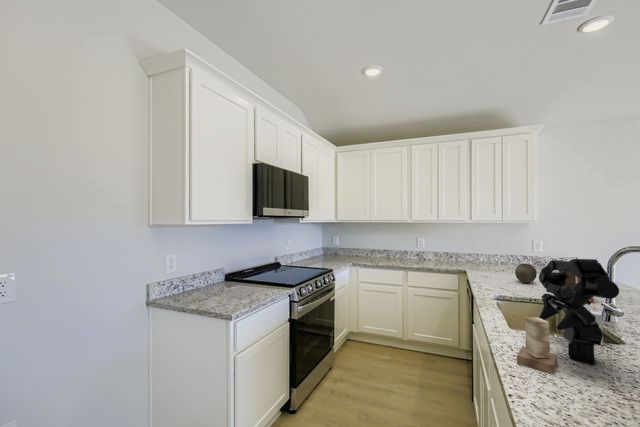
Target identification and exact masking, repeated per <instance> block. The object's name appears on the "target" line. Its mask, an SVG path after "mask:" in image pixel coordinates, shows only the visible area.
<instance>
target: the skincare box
mask: <svg viewBox="0 0 640 427" xmlns="http://www.w3.org/2000/svg"><path fill="white" fill-rule="evenodd" d="M589 311H590V312H591V313H592V314H593V315H594V316H595V317H596V323H597V324H599V328H600V329H601V330H602V333H603V332H604V331H603V319H602V313H601V312H598V311H591V310H589ZM603 334H604V333H603ZM599 346H604V336H603V337H602V340H601V344H600V345H599Z"/></svg>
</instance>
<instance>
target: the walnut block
mask: <svg viewBox="0 0 640 427" xmlns="http://www.w3.org/2000/svg"><path fill="white" fill-rule="evenodd" d="M516 365H519V366H521V367H522V366H523V367H525V368H526V367H527V368H529V369H533V370H536V371H540V372H543V373H547V374H551V375H555V372H556V368H557V366H558V354H556V353H551V352H550V359H549V358H535V357H534V356H532V355H531V354H529V353H528V352H526V346H523V345H522V347H521V349H520V350H519V352H518V353H517V354H516Z"/></svg>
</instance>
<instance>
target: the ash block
mask: <svg viewBox="0 0 640 427" xmlns="http://www.w3.org/2000/svg"><path fill="white" fill-rule="evenodd" d="M524 325H525V326H524V328H525V332H524V333H525V347H526V352H528V353H529V354H531V355H532V356H534V357H535V358H549V359H550V353H551V350H550V349H551V347H550V322H549V321H547V320H543V319H541V318H539V317H535V316H534V317H532V316H531V317H530V316H524Z"/></svg>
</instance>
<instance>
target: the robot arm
mask: <svg viewBox="0 0 640 427" xmlns="http://www.w3.org/2000/svg"><path fill="white" fill-rule="evenodd" d="M559 270H563V271H562V273H560V272H559ZM554 271H555V272H554ZM557 271H558V272H557ZM566 271H570V273H572V274H574V275H576V276H577V277H578V278H580V281H579V282H578V283H577V284H576V285H575V286H574V287H572V288H570V287H567V286H565V284H566V280H567V278H568V275H567V273H566ZM538 281H539V283H541V285H542V286H543V288H544V289H546V290H545V292H547V293H544V294H542V296H540V298H541V300H542V302H543V308H542V310H541V313H540V315H539V317H538V318H541V319H543V320H545V321H547V319H549V318H551V317H553V316H555V315H557V314H559V313H560V311H563V313H564V315H565V316H564V317H563V318H562V319H561V321H560V322H559V323H558V324H557V326H556V327H555V329H556V330H558V331H562V330H564V331H563V335H564V336H563V337H564V339H566V340H567V341H568V343H567V348H568V356H569V359H570V360H572V361H577V362H582V363H584V364H589V365H593V366H594V365H595V363H596V357H595V345H596V346H601V345H600V344H601V340H602V337H603V338H604V336H603V335H604V333H602V330H601V329H600V328H599V324H597V323H596V317H595V316H594V315H593V314H592V313H591V312H590V311H591V310H588V308H586V305H588V306H590V305H591V302H590V300H591V299H592V298H593V299H594V298H595V297H596V298H601V299H607V300H611V299H615V298H617V297H618V295H619V294H620V288H619V287H618V285H617V284H616V282H613V281H611V279H610V276H609V274H608V273H607V272H606V270H605V269H604V268H603V266H602V264H601V263H600V262H599V260H598V259H596V258H594V259H593V258H590V259H589V258H573V259H569V260H563V259H562V260H558V259H554V260H553V259H552V260H550V261H548V264H547V265H546V266H544V267H543V268H541V270H540V272H539V275H538Z"/></svg>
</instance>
